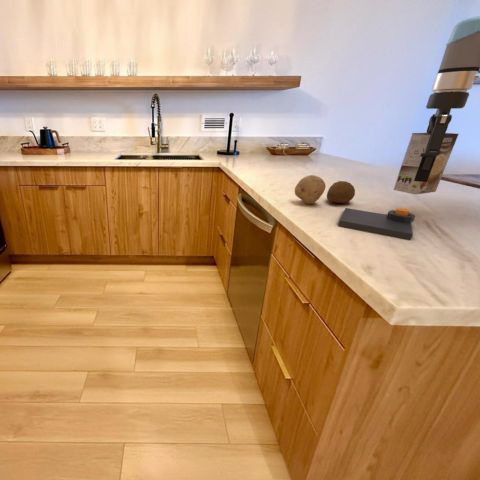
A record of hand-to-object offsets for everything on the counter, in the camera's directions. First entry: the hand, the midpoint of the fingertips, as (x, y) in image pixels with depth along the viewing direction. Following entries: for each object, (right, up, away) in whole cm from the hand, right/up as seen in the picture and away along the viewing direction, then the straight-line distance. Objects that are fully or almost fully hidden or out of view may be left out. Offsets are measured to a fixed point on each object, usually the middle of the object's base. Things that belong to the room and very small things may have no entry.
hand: (418, 177), depth 83 cm
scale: (-14, -14, -1) cm, 20 cm away
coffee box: (0, -4, +2) cm, 4 cm away
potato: (-12, -5, +19) cm, 23 cm away
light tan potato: (-24, -6, +18) cm, 30 cm away
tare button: (-7, -11, -2) cm, 13 cm away
